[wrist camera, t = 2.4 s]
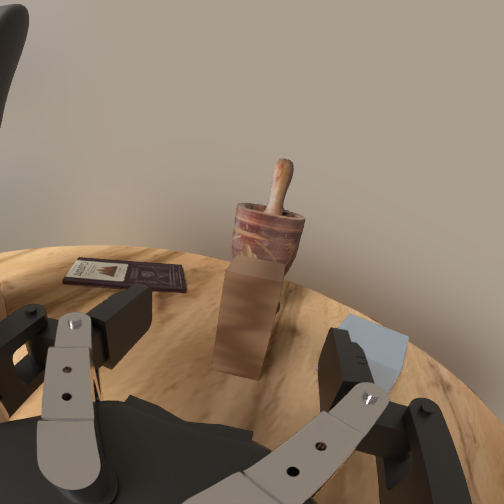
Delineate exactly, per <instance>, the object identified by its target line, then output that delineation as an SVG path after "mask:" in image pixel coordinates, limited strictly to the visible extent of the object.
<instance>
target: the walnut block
mask: <svg viewBox="0 0 504 504" xmlns="http://www.w3.org/2000/svg"><path fill="white" fill-rule="evenodd" d="M284 270H285V264H280V263H275V262H271V261H266V260H261V259H257V258H252V257H247V256H242V255H238V254H237V255H236V257H235V258H234V259H233V261H232V262H231V264H230V265H229V266H228V268H227V269H226V271H225V278H224V284H223V291H222V298H221V305H220V312H219V319H218V327H217V334H216V341H215V349H214V356H213V364H212V370H216V371H220V372H224V373H228V374H232V375H236V376H240V377H245V378H249V379H254V380H259V377H260V373H261V369H262V366H263V362H264V358H265V354H266V350H267V346H268V343H269V339H270V335H271V331H272V327H273V323H274V319H275V315H276V310H277V306H278V302H279V298H280V294H281V289H282V285H283V279H284Z"/></svg>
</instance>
